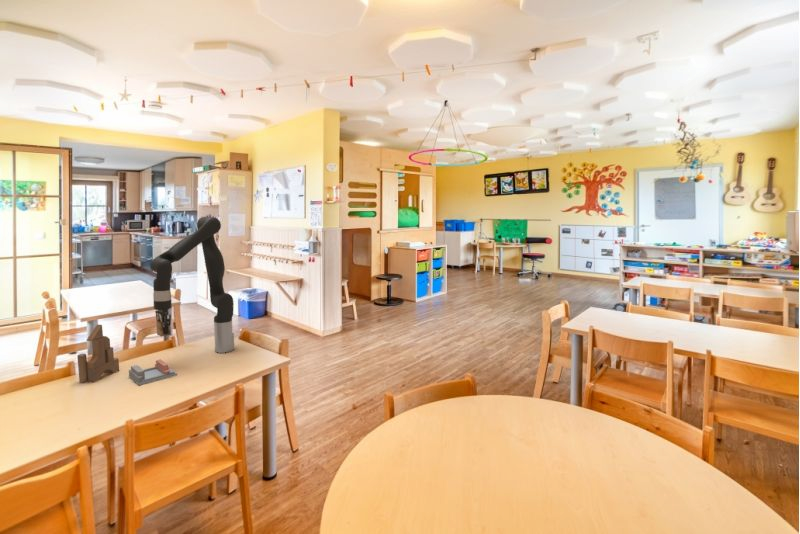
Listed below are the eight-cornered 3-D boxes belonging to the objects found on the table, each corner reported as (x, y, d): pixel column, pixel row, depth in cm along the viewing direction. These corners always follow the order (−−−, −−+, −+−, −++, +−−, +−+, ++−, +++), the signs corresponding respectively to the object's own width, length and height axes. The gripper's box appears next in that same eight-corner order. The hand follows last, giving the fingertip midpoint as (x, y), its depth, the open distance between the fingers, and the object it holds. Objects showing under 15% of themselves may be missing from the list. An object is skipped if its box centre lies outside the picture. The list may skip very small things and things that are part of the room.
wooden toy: (107, 369, 193) (103, 319, 189) (119, 370, 192) (116, 320, 188) (77, 382, 177) (73, 329, 174) (90, 384, 176) (86, 329, 173)
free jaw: (159, 366, 195) (159, 358, 194) (170, 374, 186) (169, 365, 186) (155, 367, 193) (154, 359, 192) (165, 375, 185) (165, 366, 184)
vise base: (166, 367, 197) (165, 356, 196) (177, 375, 188) (176, 364, 188) (128, 376, 185) (128, 365, 184) (139, 385, 176) (138, 373, 175)
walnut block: (166, 332, 199) (166, 319, 198) (170, 334, 195) (170, 321, 195) (157, 334, 195) (156, 321, 194) (160, 336, 192) (160, 323, 191)
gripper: (176, 300, 191) (177, 334, 193) (165, 295, 200) (166, 328, 203) (159, 302, 186) (160, 337, 188) (148, 297, 195) (150, 331, 197)
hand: (163, 332), depth 195 cm, fingers closed on walnut block, 5 cm apart
